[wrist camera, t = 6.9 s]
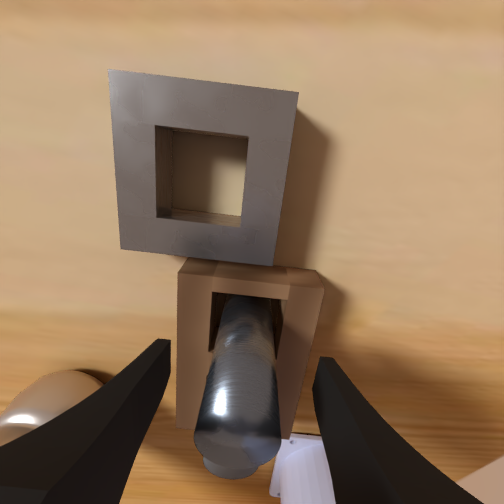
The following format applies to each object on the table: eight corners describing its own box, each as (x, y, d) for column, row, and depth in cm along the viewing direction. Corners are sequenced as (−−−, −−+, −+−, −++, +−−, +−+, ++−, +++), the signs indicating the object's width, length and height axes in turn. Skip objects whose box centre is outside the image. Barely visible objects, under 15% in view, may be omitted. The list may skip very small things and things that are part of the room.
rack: (315, 270, 16) (344, 329, 11) (285, 407, 20) (296, 502, 15) (189, 256, 16) (152, 308, 11) (185, 396, 20) (157, 488, 15)
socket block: (291, 103, 13) (298, 92, 11) (270, 250, 16) (272, 266, 14) (135, 84, 13) (108, 68, 11) (141, 235, 16) (120, 249, 13)
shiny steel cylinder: (271, 282, 17) (284, 410, 8) (269, 321, 18) (278, 471, 9) (225, 281, 17) (191, 406, 8) (226, 319, 18) (195, 466, 9)
